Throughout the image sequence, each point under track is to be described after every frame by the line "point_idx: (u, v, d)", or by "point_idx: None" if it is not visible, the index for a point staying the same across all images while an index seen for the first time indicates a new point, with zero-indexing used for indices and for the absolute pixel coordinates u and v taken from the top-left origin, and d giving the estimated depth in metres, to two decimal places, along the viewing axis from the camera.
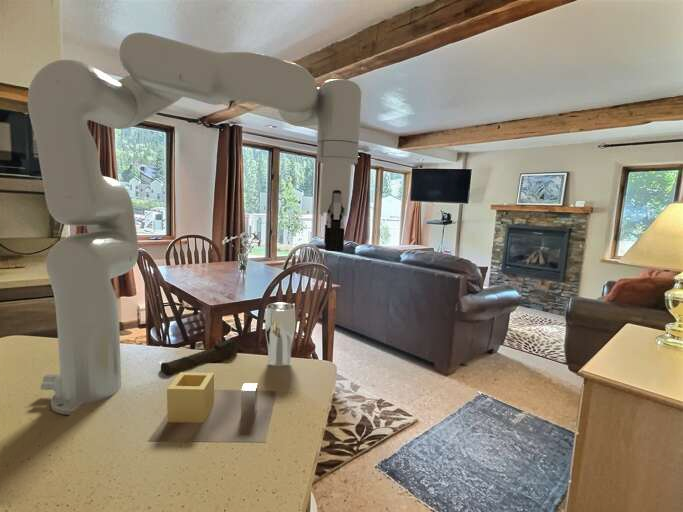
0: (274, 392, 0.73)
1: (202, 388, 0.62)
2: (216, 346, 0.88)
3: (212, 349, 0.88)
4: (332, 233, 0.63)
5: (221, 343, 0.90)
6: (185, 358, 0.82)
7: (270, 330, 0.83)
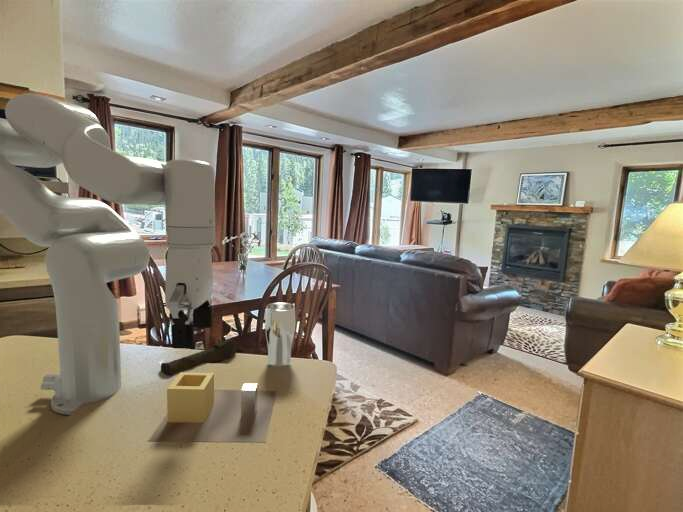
0: (274, 392, 0.73)
1: (202, 388, 0.62)
2: (215, 346, 0.88)
3: (211, 349, 0.88)
4: (177, 330, 0.57)
5: (220, 343, 0.90)
6: (185, 358, 0.82)
7: (270, 330, 0.83)
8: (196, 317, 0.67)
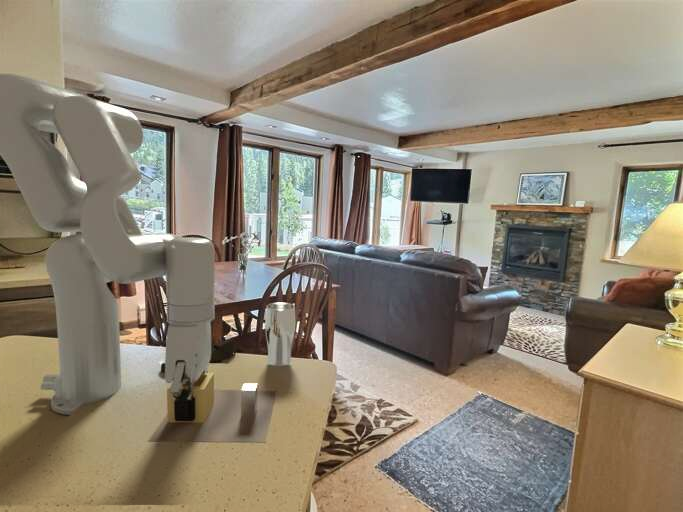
0: (274, 392, 0.73)
1: (202, 388, 0.62)
2: (215, 346, 0.88)
3: (211, 349, 0.88)
4: (179, 406, 0.60)
5: (220, 343, 0.90)
6: None
7: (270, 330, 0.83)
8: None
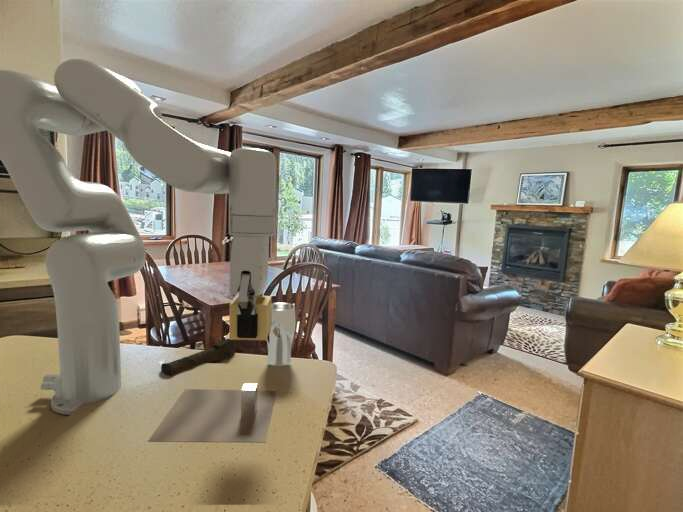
0: (274, 392, 0.73)
1: (265, 304, 0.60)
2: (215, 346, 0.89)
3: (211, 349, 0.88)
4: (243, 320, 0.59)
5: (220, 343, 0.90)
6: (185, 358, 0.82)
7: (270, 330, 0.83)
8: None
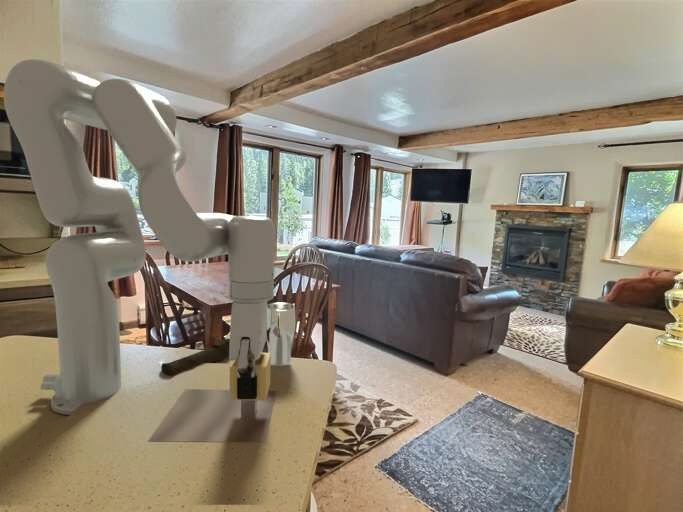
0: (274, 392, 0.73)
1: (264, 366, 0.62)
2: (214, 345, 0.89)
3: (211, 348, 0.88)
4: (243, 383, 0.60)
5: (219, 342, 0.90)
6: (185, 358, 0.82)
7: (270, 330, 0.83)
8: None
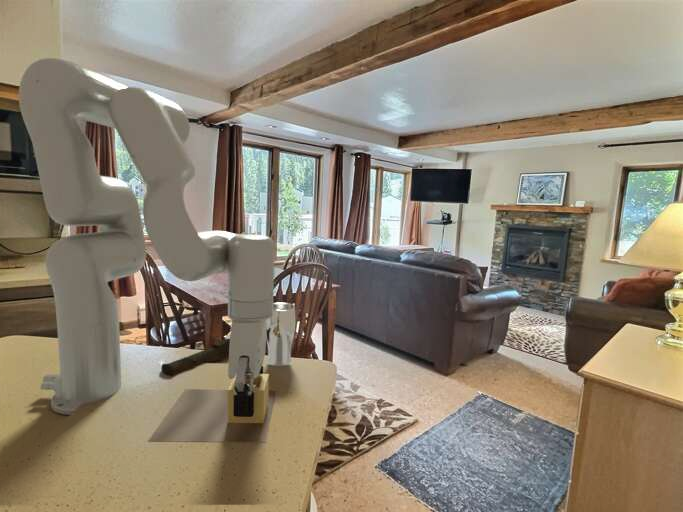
0: (274, 392, 0.73)
1: (262, 389, 0.62)
2: (214, 345, 0.89)
3: (211, 349, 0.88)
4: (239, 401, 0.59)
5: (219, 342, 0.90)
6: (186, 358, 0.82)
7: (270, 330, 0.83)
8: None
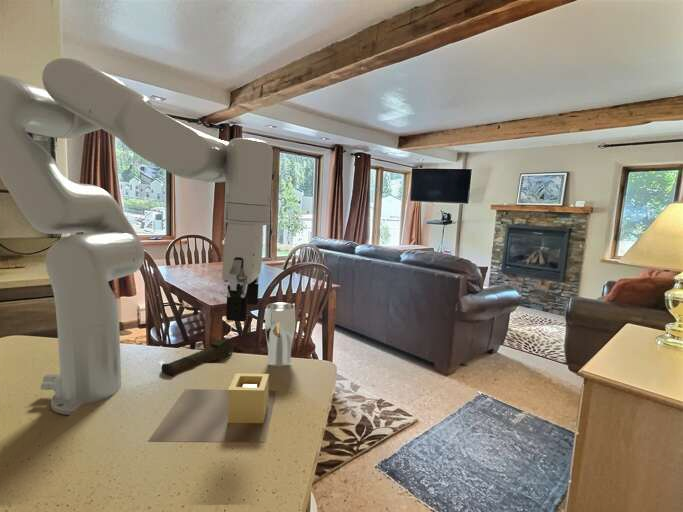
0: (274, 392, 0.73)
1: (262, 389, 0.62)
2: (214, 345, 0.89)
3: (210, 348, 0.88)
4: (232, 303, 0.59)
5: (218, 342, 0.90)
6: (186, 358, 0.82)
7: (270, 330, 0.83)
8: None
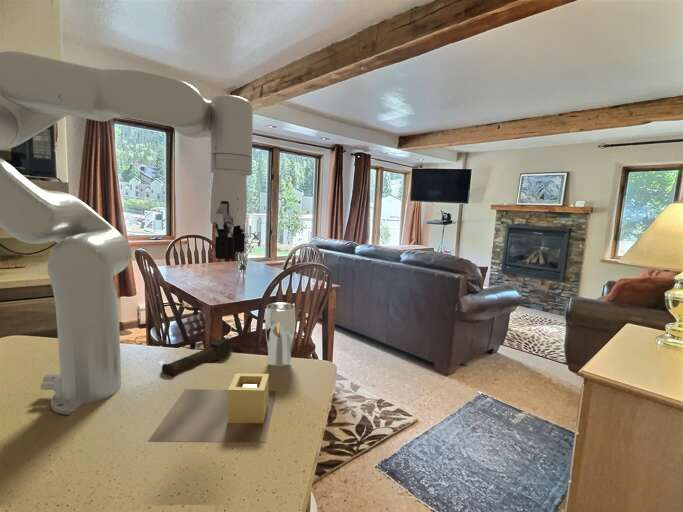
0: (274, 392, 0.73)
1: (262, 389, 0.62)
2: (213, 345, 0.89)
3: (210, 348, 0.88)
4: (220, 242, 0.66)
5: (218, 342, 0.90)
6: (186, 358, 0.82)
7: (270, 330, 0.83)
8: None
